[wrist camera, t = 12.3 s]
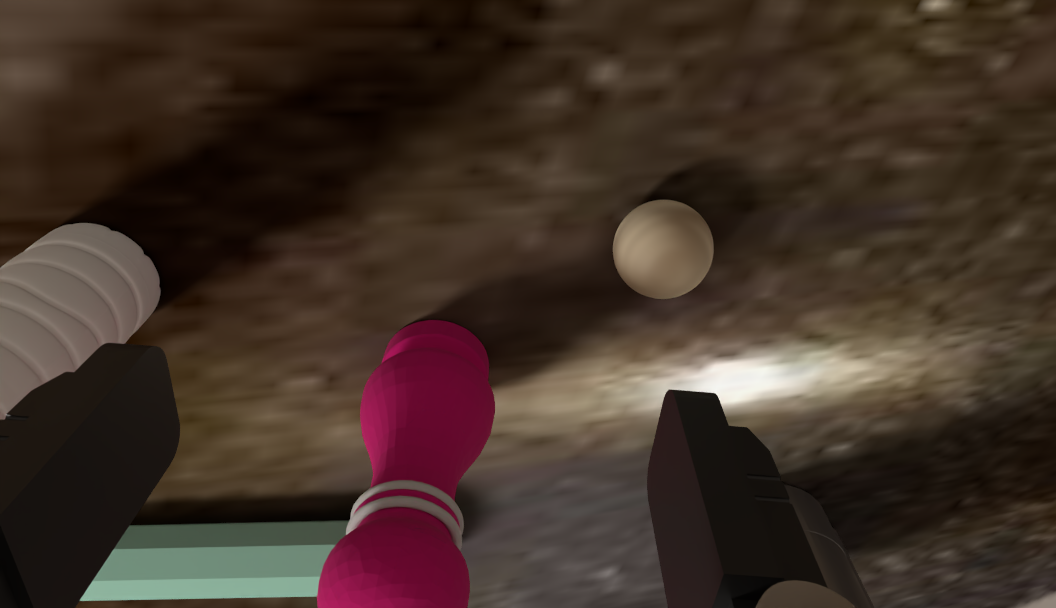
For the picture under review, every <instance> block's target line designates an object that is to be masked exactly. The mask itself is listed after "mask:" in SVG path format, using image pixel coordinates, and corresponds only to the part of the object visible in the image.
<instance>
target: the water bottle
mask: <svg viewBox="0 0 1056 608" xmlns="http://www.w3.org/2000/svg"><path fill="white" fill-rule="evenodd" d="M159 284H160V280H159V275H158V272H157V270H156V268H155V266H154V264H153V262H152V261H151V259H150V258H149V257H148V256H146V255H144V252H143V250H142V249H141V247H140V246H139V245H137V244H136V243H135V242H134V241H133V240H131V239H130V238H128V237H127V236H125V235H124V234H122V233H120V232H117V231H111V230H110V229H109V228H108V227H105V226H102V225H98V224H92V223H76V224H72V225H71V224H68V225H64V226H61V227H59V228H56V229H55V230H53V231H51V232H49V233H48V234H47V235H45V236H44V237H42V238H41V239H39V240H38V241H36V242H35V243H34V244H32V245H31V246H30V247H29V248H27V249H26V250H25V251H24V252H22V253H21V254H19V255H17V256H16V257H14V258H13V259H11V260H10V261H8V262H7V263H6V264H5V265H3V266H2V267H1V268H0V420H1V419H2V420H5V418H6V414H7V413H8V412H9V411H10V410H11V409H12V408H13V407H14V406H15V405H16V404H17V403H18V402H20V401H21V400H22V399H23V398H24V397H25V396H26V395H27V394H28V393H29V392H30V391H31V390H33V389H35V388H37V387H39V386H41V385H42V384H44V383H46V382H48V381H50V380H51V379H53V378H55V377H57V376H59V375H61V374H62V373H64V372H75V371H76V370H77V369H78V368H79V367H80V366H81V365H82V364H83V363H84V362H85V361H86V360H87V359H88V358H89V357H90V356H91V355H92V354H93V353H94V352H95V351H96V350H97V349H98V348H99V347H100V346H101V345H103V344H105V343H120V344H125V343H126V341H127V340H128V339H129V337H130V336H131V335H132V334H134V333H135V332H136V331H137V330H138V329H139V328H140V327H141V325H142V324H143V323H144V322H145V321H146V320H147V319H148V318H149V317H150V315H151V314H152V313H153V311H154V310H155V308H156V306H157V304H158V302H159V298H160V292H161V290H160V287H159Z"/></svg>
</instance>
